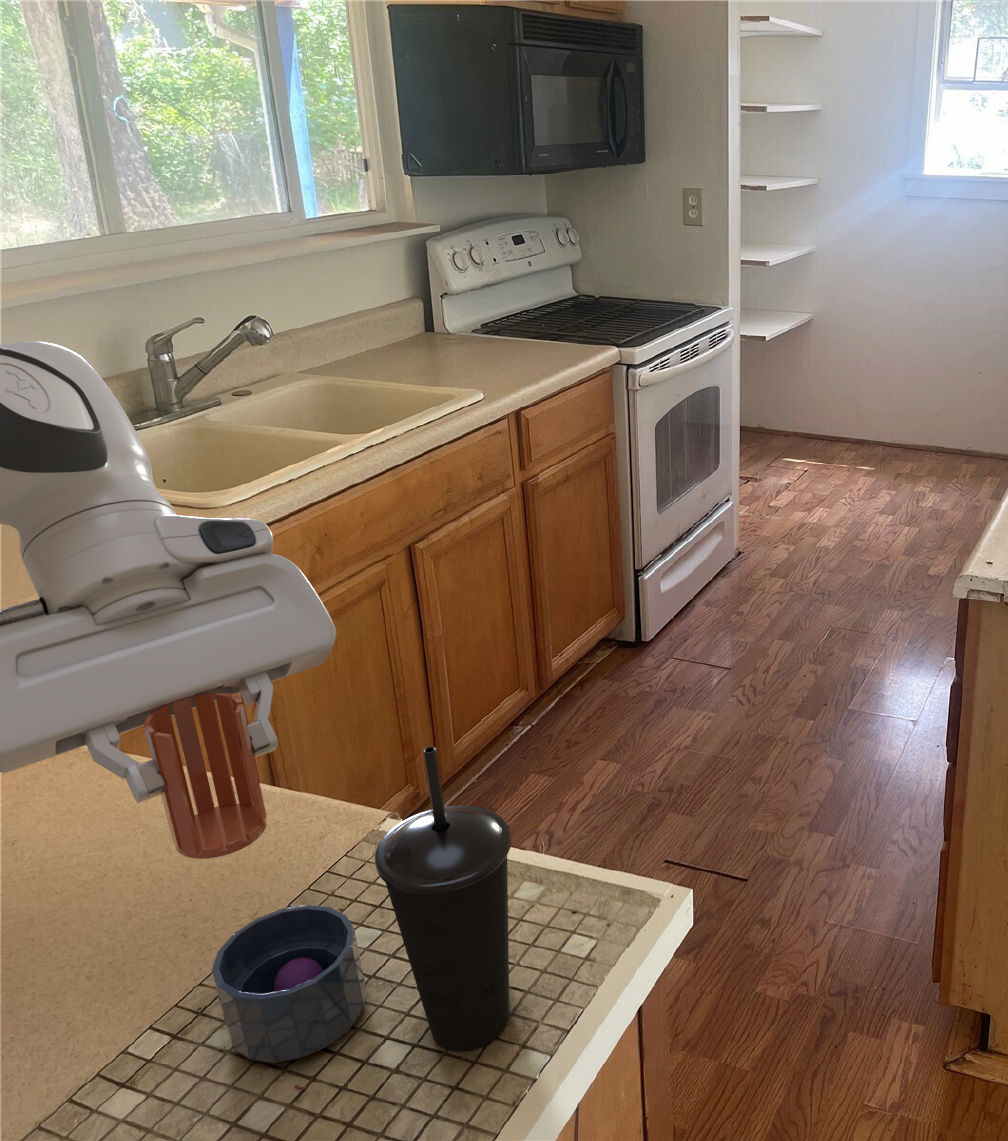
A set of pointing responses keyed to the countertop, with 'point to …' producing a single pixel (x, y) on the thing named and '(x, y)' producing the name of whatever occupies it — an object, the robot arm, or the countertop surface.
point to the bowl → (303, 1012)
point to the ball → (296, 973)
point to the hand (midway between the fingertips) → (211, 772)
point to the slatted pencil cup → (211, 825)
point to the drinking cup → (453, 913)
